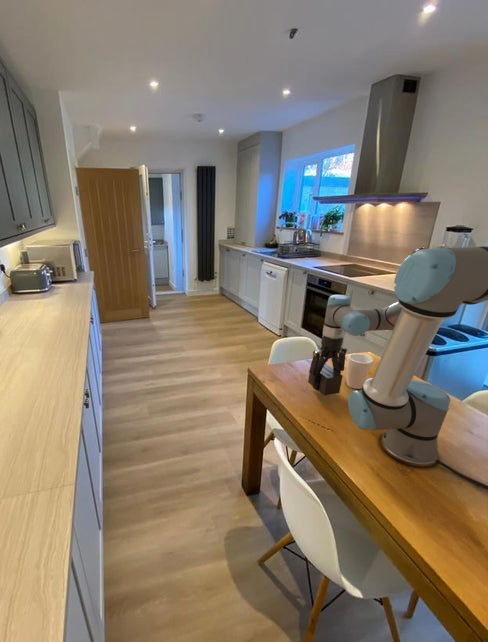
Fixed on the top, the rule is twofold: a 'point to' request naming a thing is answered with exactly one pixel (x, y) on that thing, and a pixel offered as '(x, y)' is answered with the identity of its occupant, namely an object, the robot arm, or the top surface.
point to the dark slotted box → (328, 381)
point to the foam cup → (358, 369)
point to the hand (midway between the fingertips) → (323, 387)
